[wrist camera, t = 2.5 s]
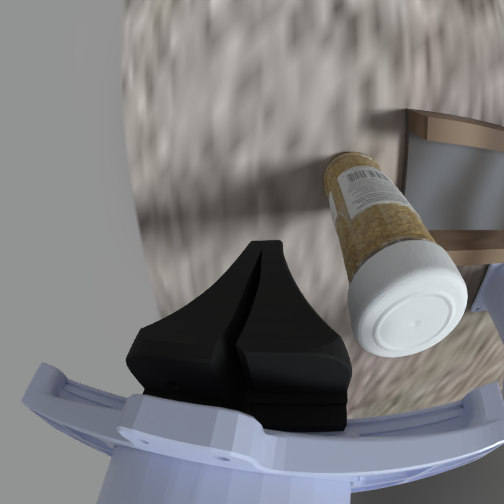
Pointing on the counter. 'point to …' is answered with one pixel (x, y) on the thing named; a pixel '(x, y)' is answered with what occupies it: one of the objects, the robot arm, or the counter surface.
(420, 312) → the sprinkles bottle
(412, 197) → the cradle
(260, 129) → the counter surface
